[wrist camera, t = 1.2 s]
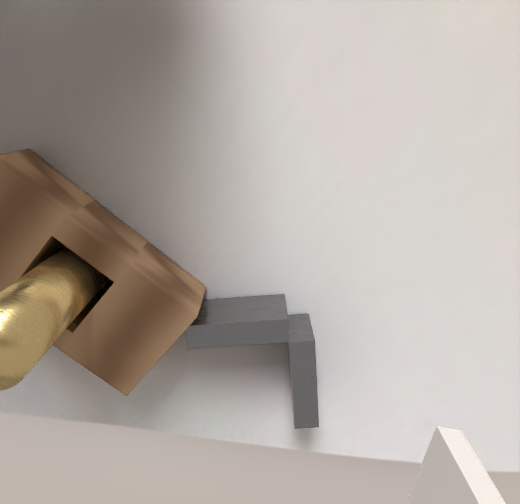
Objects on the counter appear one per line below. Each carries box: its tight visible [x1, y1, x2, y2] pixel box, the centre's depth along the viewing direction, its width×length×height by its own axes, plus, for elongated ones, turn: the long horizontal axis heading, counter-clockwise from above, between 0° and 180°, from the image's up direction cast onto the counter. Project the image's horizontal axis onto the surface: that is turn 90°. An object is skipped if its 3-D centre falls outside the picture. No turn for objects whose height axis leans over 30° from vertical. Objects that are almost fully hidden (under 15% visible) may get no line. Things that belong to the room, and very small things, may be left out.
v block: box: [185, 294, 319, 429], centre depth 40 cm, size 14×7×5 cm, turn 49°
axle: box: [0, 246, 109, 390], centre depth 33 cm, size 4×4×16 cm
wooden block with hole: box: [0, 149, 206, 396], centre depth 38 cm, size 18×9×6 cm, turn 49°
